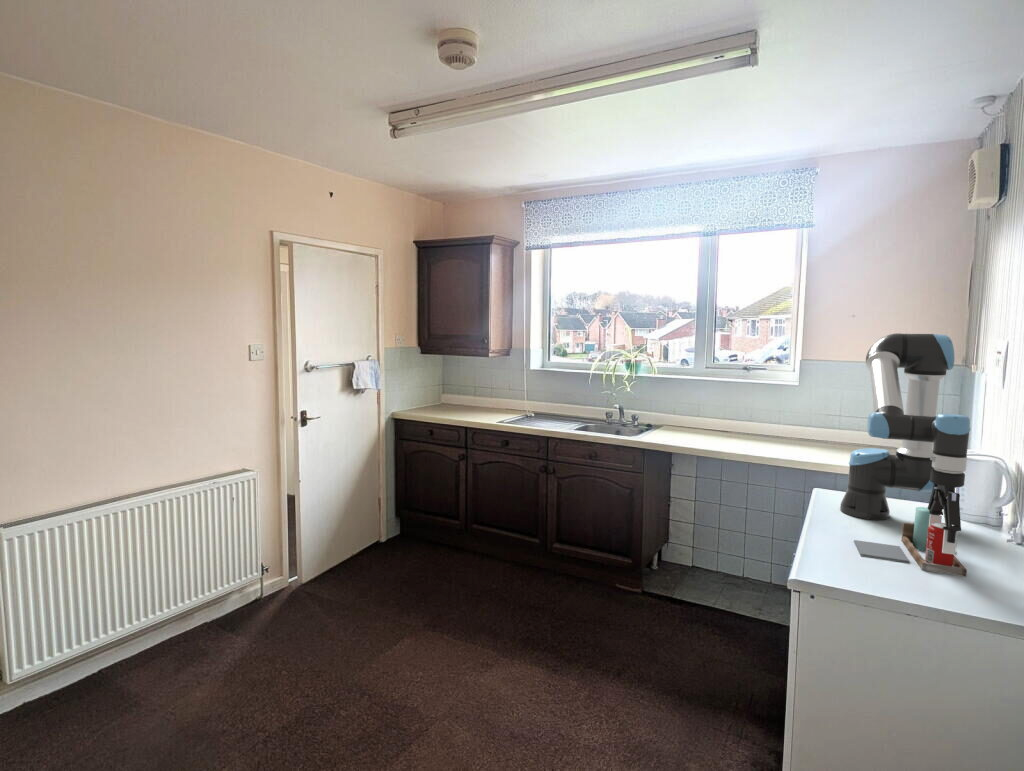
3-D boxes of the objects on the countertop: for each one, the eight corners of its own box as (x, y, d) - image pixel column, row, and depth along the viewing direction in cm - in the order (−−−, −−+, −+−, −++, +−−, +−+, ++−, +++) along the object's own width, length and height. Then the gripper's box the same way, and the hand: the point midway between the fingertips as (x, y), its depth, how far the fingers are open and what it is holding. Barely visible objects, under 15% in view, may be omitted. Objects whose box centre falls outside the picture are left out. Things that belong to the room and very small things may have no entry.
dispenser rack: (901, 540, 181) (903, 522, 180) (939, 546, 177) (941, 527, 176) (921, 569, 159) (923, 549, 158) (966, 576, 155) (968, 555, 154)
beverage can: (957, 572, 158) (961, 530, 156) (931, 570, 159) (935, 528, 158) (945, 563, 164) (949, 522, 162) (920, 561, 165) (924, 520, 164)
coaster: (853, 541, 179) (854, 539, 179) (899, 548, 175) (899, 546, 174) (860, 555, 168) (860, 553, 168) (909, 562, 163) (909, 560, 163)
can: (910, 543, 178) (913, 505, 177) (933, 546, 176) (937, 508, 175) (915, 550, 173) (918, 511, 172) (939, 553, 171) (943, 514, 169)
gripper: (919, 459, 171) (913, 529, 173) (945, 478, 148) (937, 558, 150) (950, 462, 168) (943, 533, 170) (981, 482, 145) (973, 563, 147)
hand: (940, 545), depth 160 cm, fingers open, 13 cm apart
